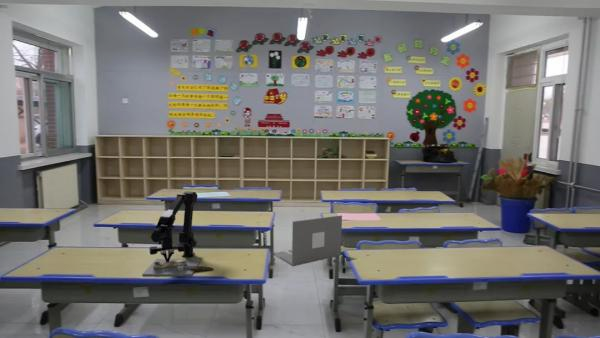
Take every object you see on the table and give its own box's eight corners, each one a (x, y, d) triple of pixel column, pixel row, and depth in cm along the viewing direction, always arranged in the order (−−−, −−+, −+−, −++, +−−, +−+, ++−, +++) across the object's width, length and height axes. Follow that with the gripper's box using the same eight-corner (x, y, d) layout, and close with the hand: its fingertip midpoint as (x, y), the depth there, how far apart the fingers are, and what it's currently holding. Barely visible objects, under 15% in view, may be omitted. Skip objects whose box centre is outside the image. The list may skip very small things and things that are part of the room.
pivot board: (156, 260, 247) (156, 258, 247) (200, 260, 248) (200, 259, 248) (142, 275, 222) (142, 274, 222) (191, 276, 223) (191, 274, 223)
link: (154, 269, 228) (153, 264, 228) (152, 267, 232) (152, 262, 232) (186, 264, 238) (186, 259, 237) (184, 262, 241) (184, 257, 241)
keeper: (180, 267, 233) (180, 261, 233) (185, 267, 233) (185, 261, 233) (177, 271, 227) (177, 265, 227) (183, 271, 227) (183, 265, 227)
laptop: (317, 247, 280) (318, 207, 277) (340, 258, 258) (342, 215, 255) (271, 255, 262) (272, 213, 259) (292, 268, 240) (293, 221, 237)
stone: (189, 271, 228) (189, 267, 228) (189, 268, 233) (189, 264, 232) (213, 271, 231) (213, 268, 231) (213, 268, 236) (213, 264, 235)
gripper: (182, 231, 245) (182, 257, 248) (148, 234, 238) (149, 260, 240) (184, 237, 235) (184, 263, 237) (149, 240, 228) (150, 267, 230)
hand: (167, 263), depth 237 cm, fingers closed
